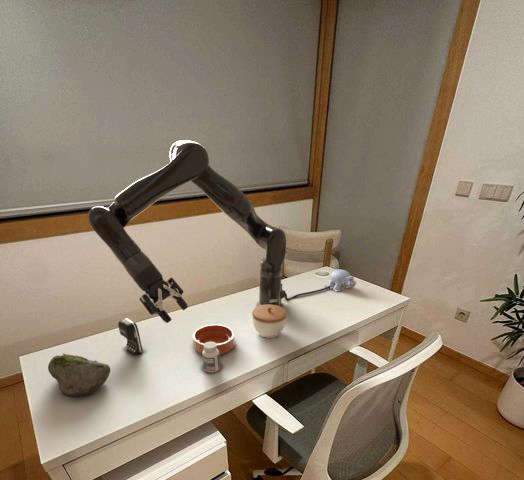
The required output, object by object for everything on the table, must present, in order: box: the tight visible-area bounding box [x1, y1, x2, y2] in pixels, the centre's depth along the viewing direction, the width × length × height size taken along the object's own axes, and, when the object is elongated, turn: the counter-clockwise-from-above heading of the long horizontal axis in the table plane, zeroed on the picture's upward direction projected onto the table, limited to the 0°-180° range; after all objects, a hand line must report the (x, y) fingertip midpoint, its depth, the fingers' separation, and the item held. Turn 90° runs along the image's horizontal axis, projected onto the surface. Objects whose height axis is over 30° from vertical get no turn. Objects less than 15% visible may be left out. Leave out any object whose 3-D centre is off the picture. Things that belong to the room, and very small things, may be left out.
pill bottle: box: [201, 342, 221, 373], centre depth 101 cm, size 5×5×9 cm
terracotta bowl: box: [192, 324, 236, 355], centre depth 113 cm, size 14×14×4 cm
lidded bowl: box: [251, 304, 288, 339], centre depth 119 cm, size 13×13×11 cm
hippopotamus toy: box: [326, 265, 357, 292], centre depth 157 cm, size 11×15×10 cm
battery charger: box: [117, 317, 144, 355], centre depth 107 cm, size 7×4×11 cm, turn 49°
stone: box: [47, 353, 111, 398], centre depth 94 cm, size 19×14×10 cm
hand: (177, 314), depth 100 cm, fingers open, 8 cm apart
